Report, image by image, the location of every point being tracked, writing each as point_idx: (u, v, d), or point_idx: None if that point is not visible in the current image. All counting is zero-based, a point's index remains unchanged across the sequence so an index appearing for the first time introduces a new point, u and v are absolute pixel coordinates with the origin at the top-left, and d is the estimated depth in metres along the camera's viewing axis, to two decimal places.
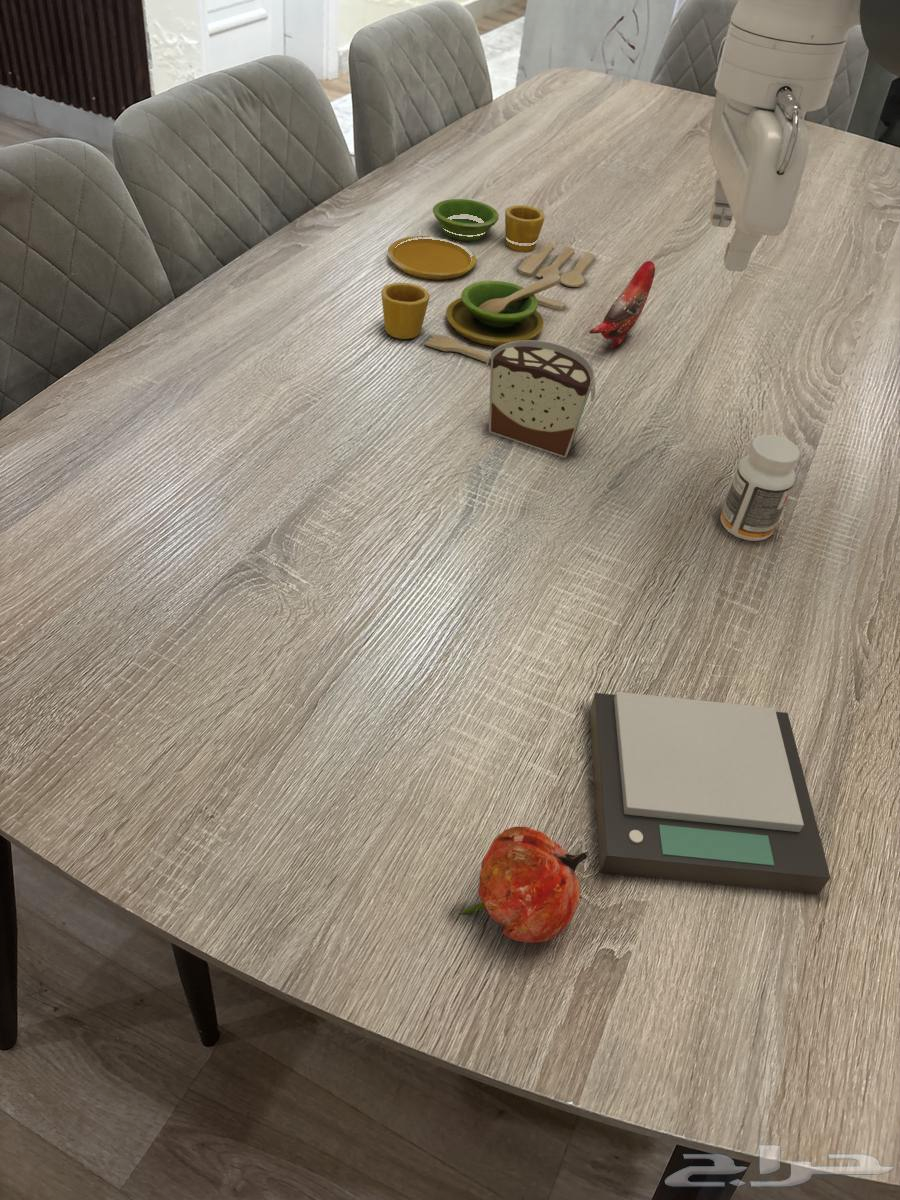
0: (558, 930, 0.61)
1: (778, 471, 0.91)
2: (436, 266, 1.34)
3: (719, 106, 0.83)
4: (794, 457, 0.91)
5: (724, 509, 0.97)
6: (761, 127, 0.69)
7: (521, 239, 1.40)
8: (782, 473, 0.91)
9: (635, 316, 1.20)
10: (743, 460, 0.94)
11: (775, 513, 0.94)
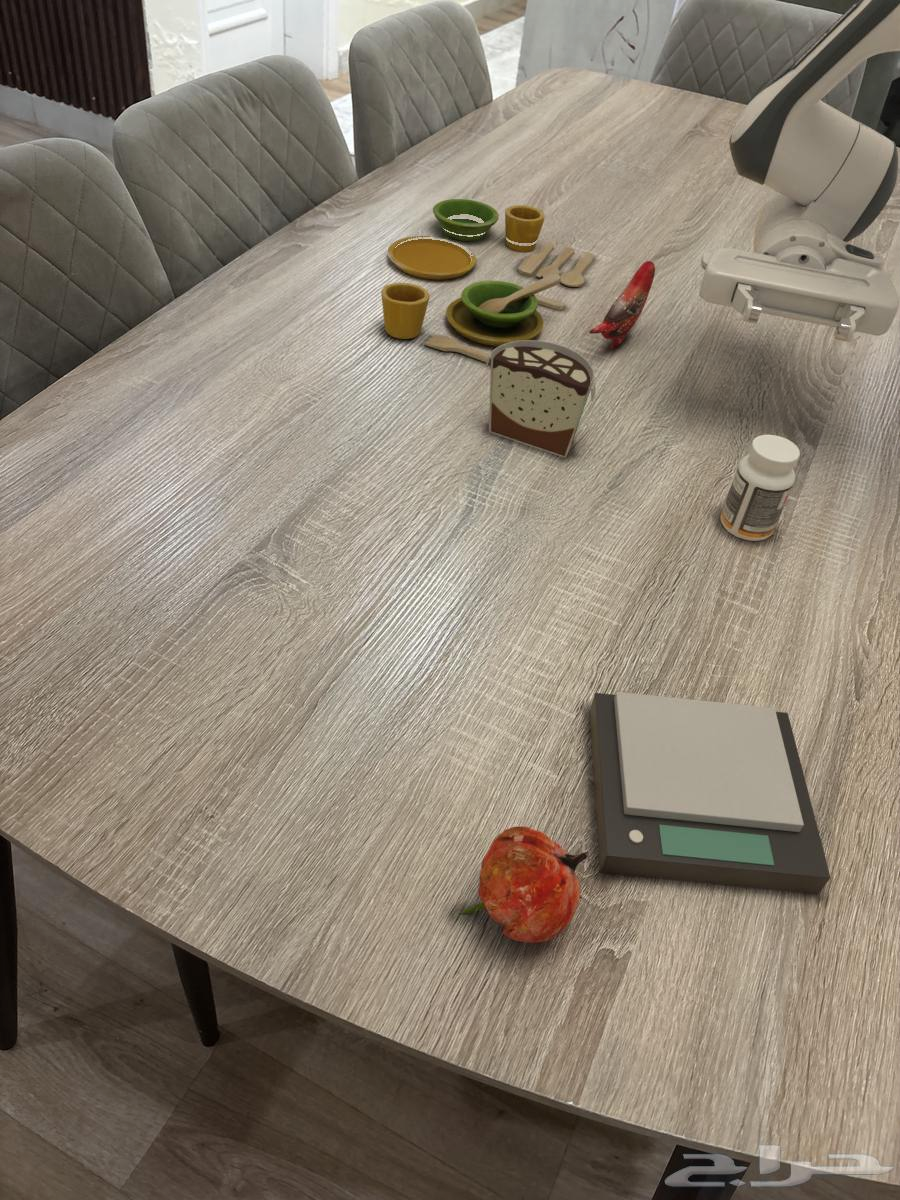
0: (558, 930, 0.61)
1: (778, 471, 0.91)
2: (436, 266, 1.34)
3: None
4: (794, 457, 0.91)
5: (724, 509, 0.97)
6: None
7: (521, 239, 1.40)
8: (782, 473, 0.91)
9: (635, 316, 1.20)
10: (743, 460, 0.94)
11: (775, 513, 0.94)
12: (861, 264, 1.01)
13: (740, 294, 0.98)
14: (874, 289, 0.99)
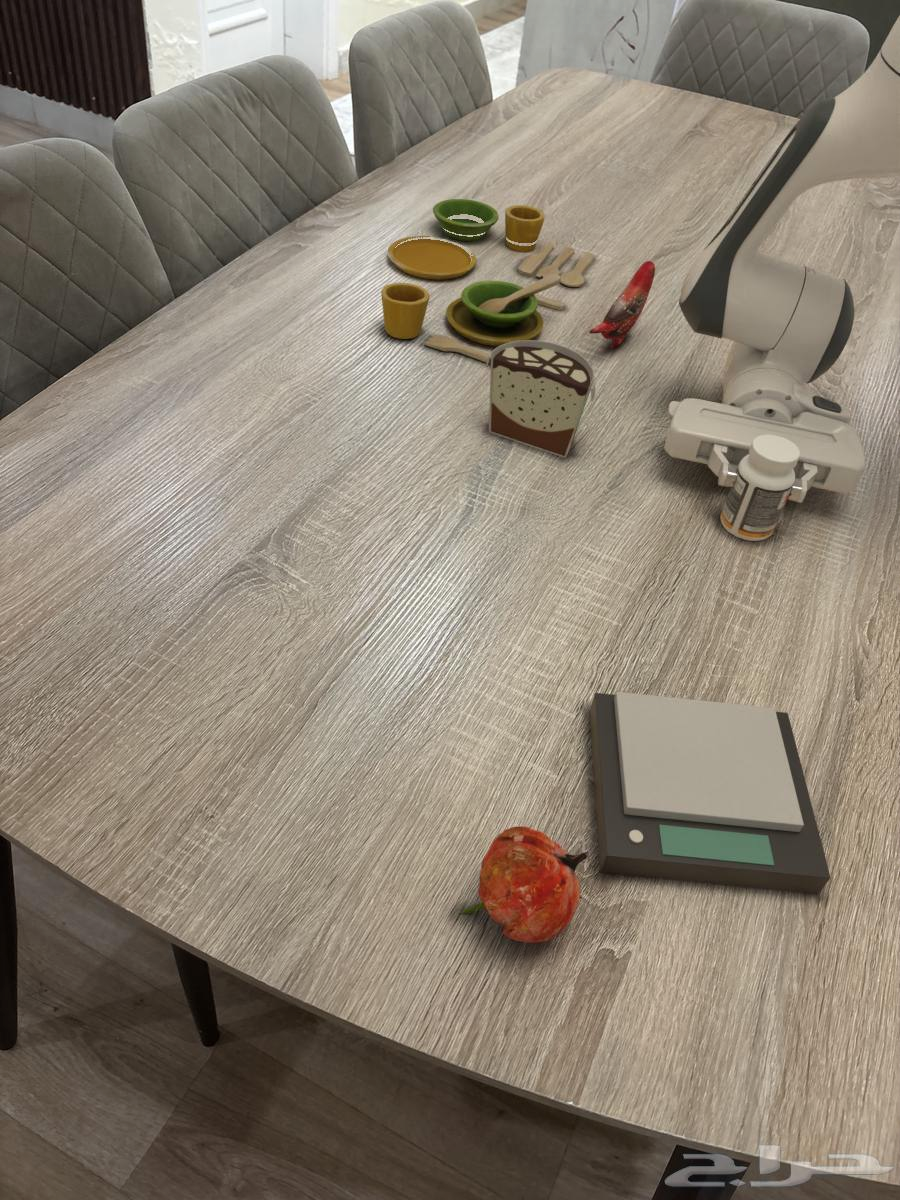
0: (558, 930, 0.61)
1: (778, 471, 0.91)
2: (436, 266, 1.34)
3: None
4: (794, 457, 0.91)
5: (724, 509, 0.97)
6: None
7: (521, 239, 1.40)
8: (782, 473, 0.91)
9: (635, 316, 1.20)
10: (743, 460, 0.94)
11: (775, 513, 0.94)
12: (828, 418, 1.00)
13: (716, 456, 0.96)
14: (841, 446, 0.98)
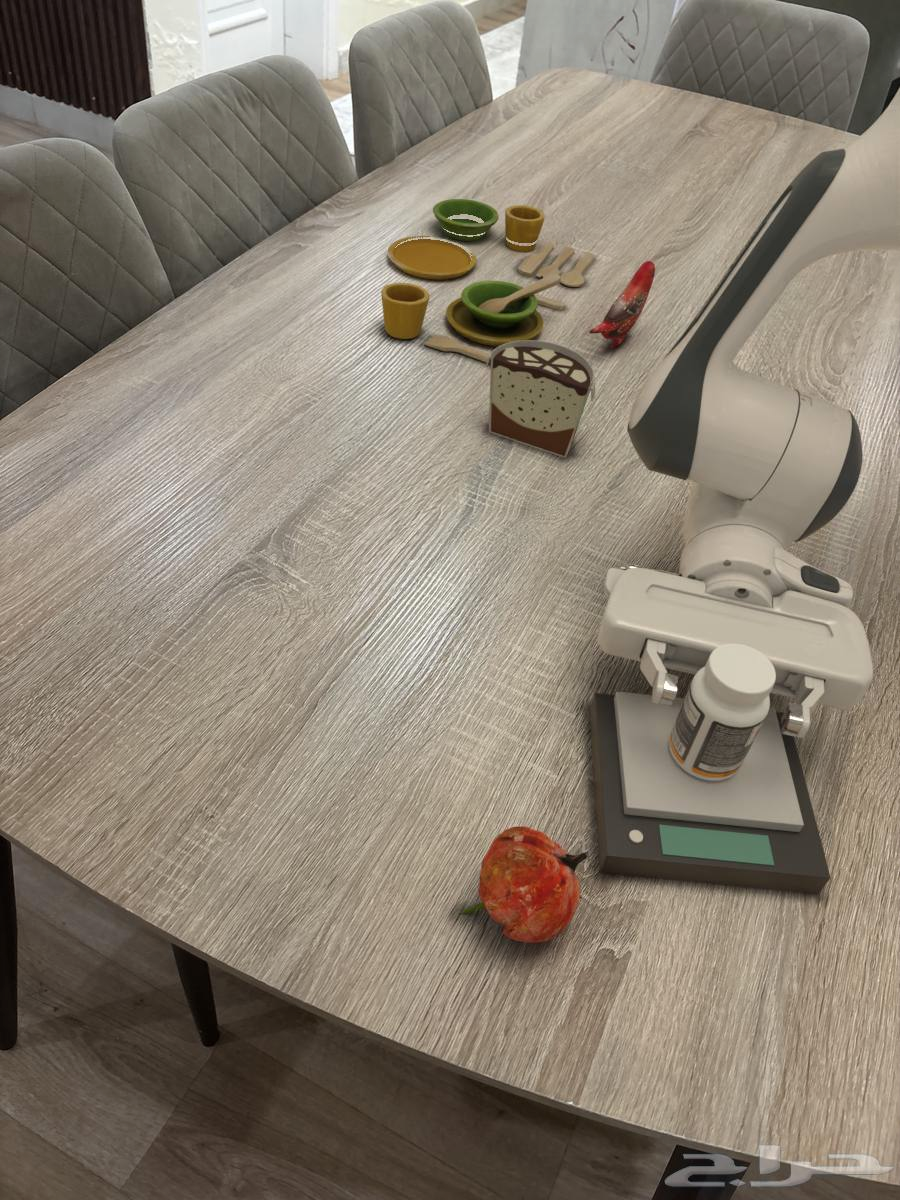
0: (558, 930, 0.61)
1: (745, 703, 0.64)
2: (436, 266, 1.34)
3: None
4: (768, 683, 0.64)
5: (673, 735, 0.71)
6: None
7: (521, 239, 1.40)
8: (751, 704, 0.65)
9: (635, 316, 1.20)
10: (697, 677, 0.67)
11: (742, 751, 0.68)
12: (821, 600, 0.73)
13: (649, 660, 0.69)
14: (840, 645, 0.71)
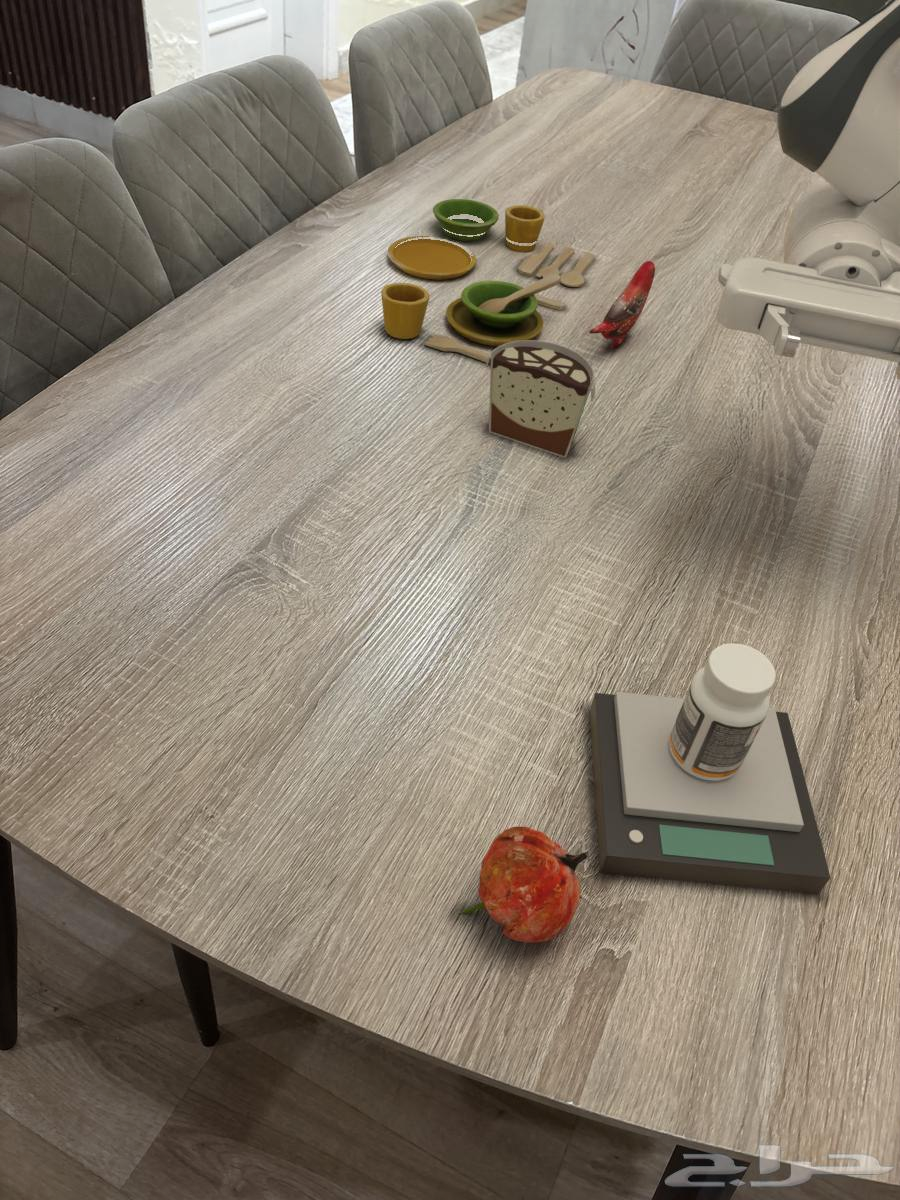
0: (558, 930, 0.61)
1: (745, 703, 0.64)
2: (436, 266, 1.34)
3: None
4: (767, 683, 0.64)
5: (673, 735, 0.71)
6: None
7: (521, 239, 1.40)
8: (751, 704, 0.65)
9: (635, 316, 1.20)
10: (697, 677, 0.67)
11: (742, 750, 0.68)
12: None
13: (771, 319, 0.74)
14: None
